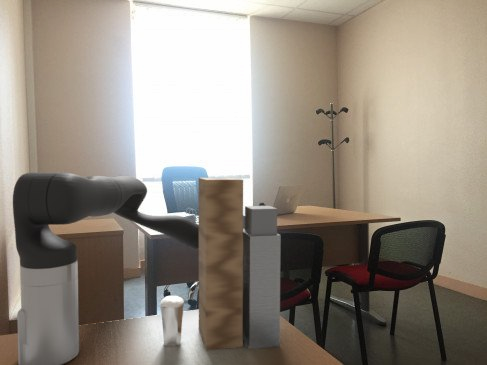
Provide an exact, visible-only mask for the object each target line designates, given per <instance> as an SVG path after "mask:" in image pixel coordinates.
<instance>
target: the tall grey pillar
mask: <svg viewBox="0 0 487 365" xmlns="http://www.w3.org/2000/svg"><path fill="white" fill-rule="evenodd" d="M281 240H282V238H281V234H279V233H278V232H277V235H259V236H251V235H250V234H248V233H247V232H245V228H244V227H243V319H242V340H243V341H244V343H245V344H246V345H247V348H248V349H249V350H257V349H265V348H266V349H267V348H274V347H280V346H281V344H280V338H281V336H280V335H281V328H280V327H281V326H280V324H281V319H280V318H281V252H282V251H281V249H282V248H281V243H282V242H281Z"/></svg>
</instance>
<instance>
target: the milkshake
mask: <svg viewBox="0 0 487 365" xmlns="http://www.w3.org/2000/svg"><path fill="white" fill-rule="evenodd" d="M187 295H188V292H187V293H186V295H185V298H184V299H183V298H182V297H180V296H178V295H167V296H164V297H163V298H162V299H161V301H160V302H159V303H160V304H159V306H160V312H161V314H160V315H161V323H162V336H163V344H164V346H166V347H171V348H172V347H173V348H174V347H177V346H179V345H180V344H181V343H182V342H181V341H182V326H183V316H184V308H185V307H184V305H185V301H186V298H187Z"/></svg>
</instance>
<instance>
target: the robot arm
mask: <svg viewBox="0 0 487 365" xmlns="http://www.w3.org/2000/svg"><path fill="white" fill-rule="evenodd" d="M147 193H148V189H147V186H146V184H144V182H142V181H141V179H138V178H136V177H134V176H130V175H126V174H125V175H117V176H107V175H89V176H87V177H84V176H81V175H79V174H75V173H71V172H26V173H23V174H21V175H20V176H19V177H18V178H17V180H16V182H15V184H14V188H13V193H12V214H13V215H12V216H13V221H14V222H13V224H14V234H15V235H14V236H15V237H14V238H15V247H16V252H17V253H18V254H17V255H18V257H19V265H20V266H19V274H20V275H19V276H20V280H19V282H20V308H19V310H18V311H17V315H16V319H17V348H18V349H17V352H18V356H17V357H18V365H64V364H66V363H68V362H70V361H72V360H73V359H75V358H76V357H77V356H78V354H79V352H80V337H79V336H80V335H79V333H80V329H79V328H80V327H79V326H80V325H79V276H78V275H79V271H78V270H79V269H78V248H77V246H76V244H75V243H74V242H73V241H70V240H66V239H64V238H62V237H60V236H58V235H56V233H54V231H52V230H51V228H50V225H53V226H54V225H57V226H58V225H60V226H61V225H71V224H75V223H77V222H79V221H81V220H83V219H86V218H88V217H92V218H93V217H94V218H95V217H102V216H107V215H108V216H109V215H111V214H115V215H117V216H119V217H121V218H123V219H126V220H128V221H130V222H132V223H135V224H137V225H140V226H142V227H144V228H147V229H149V230H152V231H155V232H158V233H160V234H163V235H165V236H167V237H169V238H172V239H173V240H175V241H177V242H179V243H180V244H182V245H183V246H186V247H188V248H190V249H192V250H193V251H197V250H199V223H197V222H194V221H193V220H191V219H190V218H187V217H184V216H182V215H181V216H180V215H150V214H145V213H143V212H140V211H139V208H140V206H141V205H142V204H143V202H144V200H145V198H146V197H147ZM258 206H267V205H266V204H265V202H259V204H258Z"/></svg>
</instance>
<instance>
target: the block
mask: <svg viewBox="0 0 487 365" xmlns="http://www.w3.org/2000/svg"><path fill="white" fill-rule="evenodd" d="M243 227H244V228H245V232H247V233H248V234H250V235H251V236H259V235H277V233H278V208H277V207H274V206H271V205H266V206H259V205H252V206H251V205H250V206H249V205H247V206H244V209H243Z"/></svg>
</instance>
